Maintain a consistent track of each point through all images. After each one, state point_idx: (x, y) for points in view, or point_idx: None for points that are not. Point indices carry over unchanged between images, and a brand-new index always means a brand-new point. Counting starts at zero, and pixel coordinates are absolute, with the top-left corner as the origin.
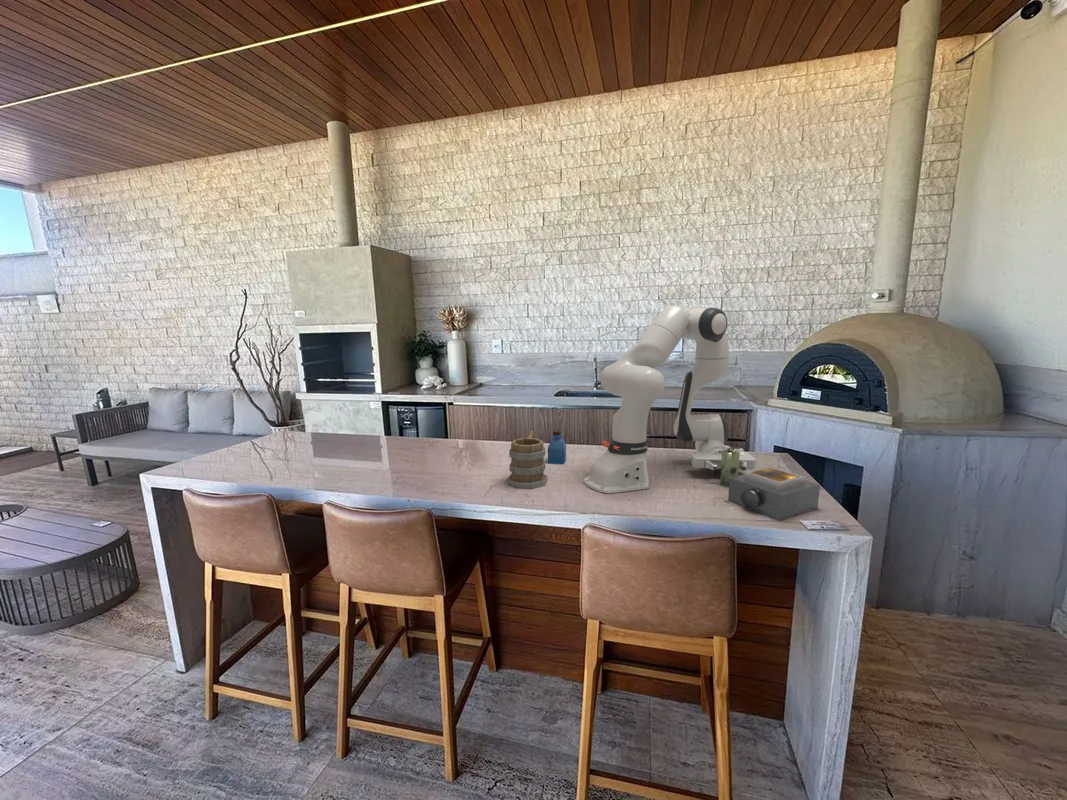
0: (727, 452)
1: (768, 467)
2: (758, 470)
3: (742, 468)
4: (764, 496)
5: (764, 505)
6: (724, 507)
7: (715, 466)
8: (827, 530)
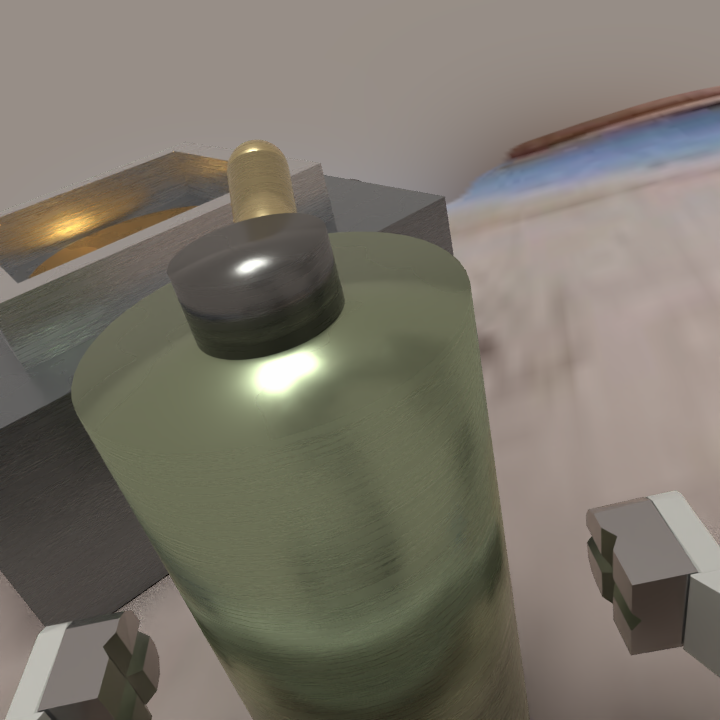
0: (359, 273)
1: (24, 283)
2: (180, 215)
3: (135, 648)
4: None
5: None
6: (499, 290)
7: (612, 507)
8: None
